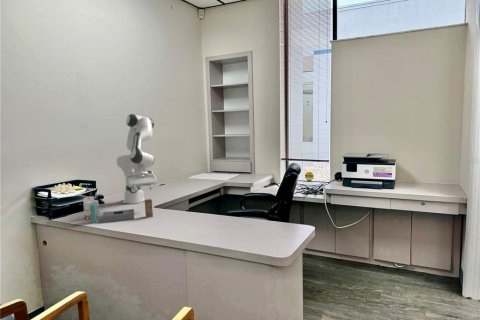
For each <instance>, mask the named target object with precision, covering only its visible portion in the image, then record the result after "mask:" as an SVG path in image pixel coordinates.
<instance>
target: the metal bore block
mask: <svg viewBox="0 0 480 320" xmlns="http://www.w3.org/2000/svg"><path fill="white" fill-rule="evenodd" d="M129 219H131V220H135V209H134V208H132V209H124V210H123V209H122V210H112V211H104V212H103V213H102V215H101V222H105V223H110V222H109V221H113V222H120V221H119V220H122V221H128V220H129Z"/></svg>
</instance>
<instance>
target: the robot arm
mask: <svg viewBox="0 0 480 320" xmlns="http://www.w3.org/2000/svg"><path fill="white" fill-rule="evenodd" d="M125 122H126V125H127V126H128V127H130V128H129V129H128V133H127V134H128V135H127V141H126V148H127V149H128V151H130V154H123V155H119V156H118V157H117V159H116V165H117V167H119V168H120V169H121V171H122V173H124V177H125V192H124V200H122V204H128V205H129V204H131V205H132V204H139V203H142V202H145V199H146V198H145V197H144V191H143V190H142V187H145V186H149V190H150V191H152V190H153V186H155V185H157V184H158V180H157V177H156V175H155V174H154V171H152V170H148V169H149V168H150V167H152V166H153V165H154V163H155V157H154V155H152V154H150V153H148V152H145V151H143V150H142V146H141V145H142V142H148V141H149V140H151V139H152V138H153V135H154V134H153V132H154V131H153V130H154V126H155V122H154V119H152V118H150V117H147V116H143V115H138V114H133V113H130V114H128V115H127V117H126V121H125Z"/></svg>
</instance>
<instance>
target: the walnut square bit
mask: <svg viewBox="0 0 480 320" xmlns="http://www.w3.org/2000/svg"><path fill="white" fill-rule="evenodd" d="M144 209H145V210H144V212H145V217H146V218H147V217H149V218H153V217H154V215H153V214H154V213H153V200H152V198H145V201H144Z"/></svg>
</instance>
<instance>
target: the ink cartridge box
mask: <svg viewBox="0 0 480 320" xmlns="http://www.w3.org/2000/svg"><path fill="white" fill-rule="evenodd" d="M91 203H95V204H96V216H99V217H100V208H99V206H100V205H99V200H98V199H97V200H96V199H95V195H92V196H87V197H83V214H84V219H85V218H88V219H89V220H91V219H90V218H91V212H90V205H91ZM88 219H87V220H88Z"/></svg>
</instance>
